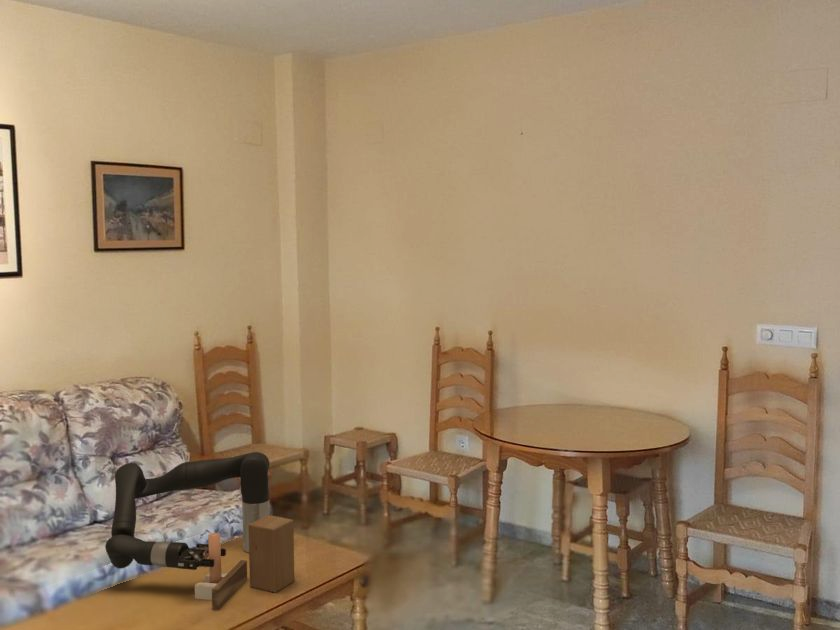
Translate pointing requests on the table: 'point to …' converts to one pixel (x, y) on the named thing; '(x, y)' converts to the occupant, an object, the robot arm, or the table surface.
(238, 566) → the wall
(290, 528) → the wooden block
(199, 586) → the notched block
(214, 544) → the dowel
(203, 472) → the robot arm
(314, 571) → the table surface
